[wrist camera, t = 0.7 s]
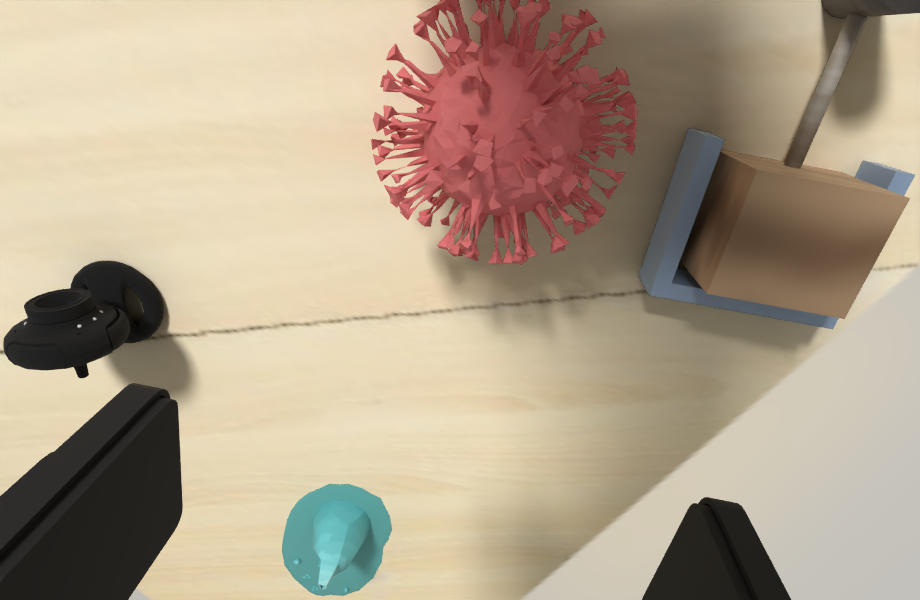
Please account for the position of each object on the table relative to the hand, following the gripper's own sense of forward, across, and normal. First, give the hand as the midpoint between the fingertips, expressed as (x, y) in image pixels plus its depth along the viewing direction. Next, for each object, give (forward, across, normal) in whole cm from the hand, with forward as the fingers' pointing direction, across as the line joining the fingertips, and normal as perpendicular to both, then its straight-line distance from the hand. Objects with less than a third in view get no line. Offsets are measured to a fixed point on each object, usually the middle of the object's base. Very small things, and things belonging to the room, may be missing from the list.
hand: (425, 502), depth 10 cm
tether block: (+32, -20, -6) cm, 38 cm away
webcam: (+32, +28, +18) cm, 46 cm away
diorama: (+33, +7, +42) cm, 54 cm away
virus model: (+32, -1, -3) cm, 33 cm away
